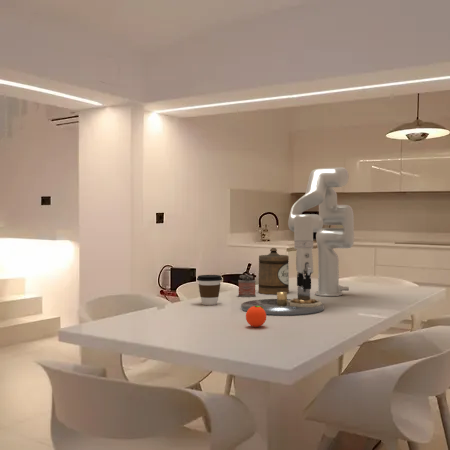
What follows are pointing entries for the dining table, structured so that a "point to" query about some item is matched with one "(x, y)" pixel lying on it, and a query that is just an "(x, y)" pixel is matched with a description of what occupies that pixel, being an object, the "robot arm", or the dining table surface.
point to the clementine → (256, 316)
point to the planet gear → (303, 296)
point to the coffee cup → (209, 288)
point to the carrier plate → (284, 306)
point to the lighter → (246, 286)
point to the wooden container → (273, 273)
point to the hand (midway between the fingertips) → (303, 287)
